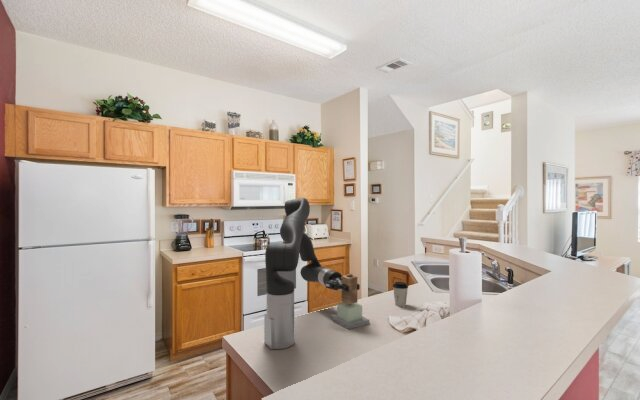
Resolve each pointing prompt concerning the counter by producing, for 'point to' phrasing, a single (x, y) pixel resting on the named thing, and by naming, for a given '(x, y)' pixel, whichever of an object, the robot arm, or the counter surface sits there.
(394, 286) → the coffee cup
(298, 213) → the robot arm
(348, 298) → the walnut pillar block
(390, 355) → the counter surface
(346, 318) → the foundation
